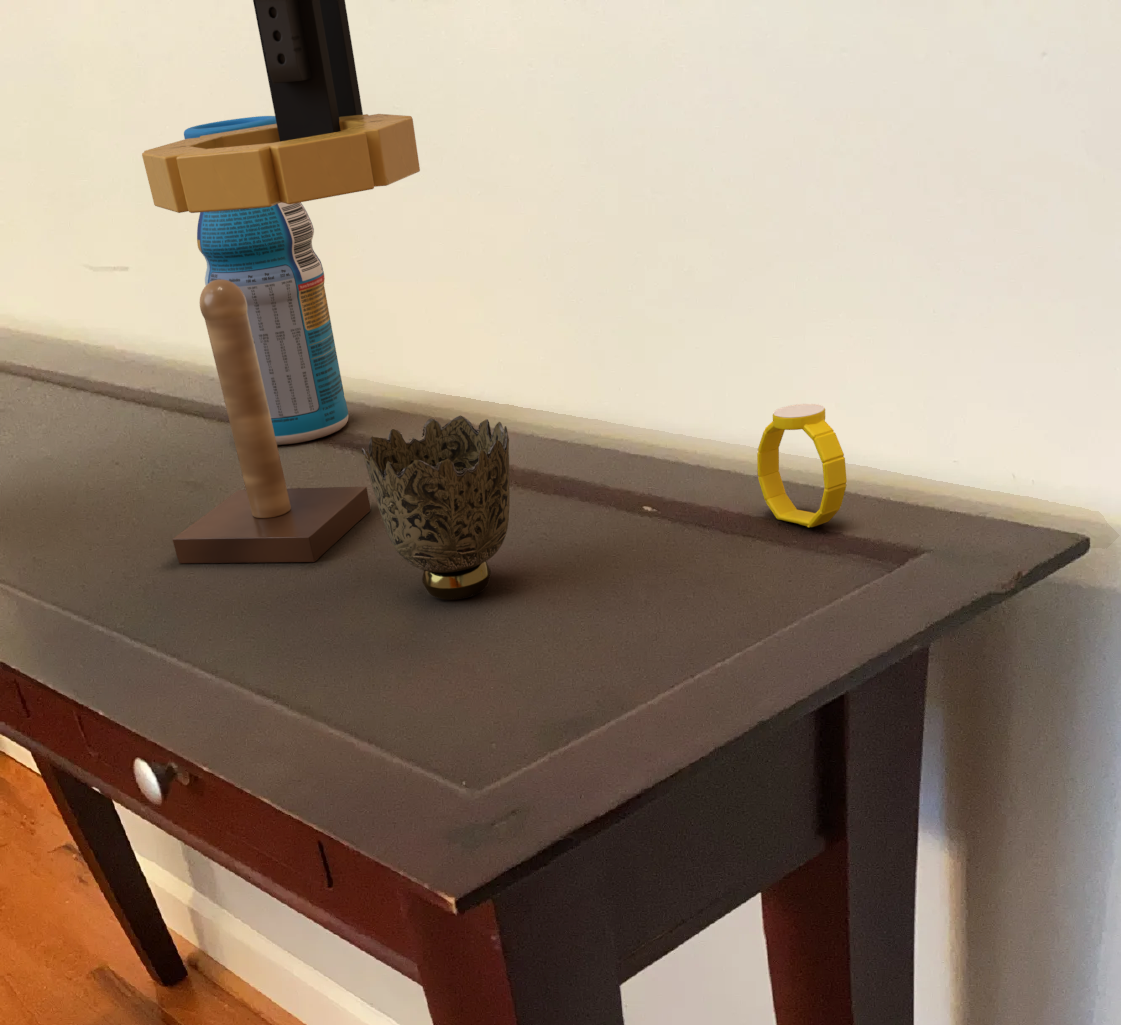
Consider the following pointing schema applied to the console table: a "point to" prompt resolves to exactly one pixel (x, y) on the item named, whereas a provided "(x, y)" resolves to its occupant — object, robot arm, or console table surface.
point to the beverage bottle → (279, 304)
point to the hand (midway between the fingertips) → (328, 162)
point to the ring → (280, 165)
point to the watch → (829, 453)
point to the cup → (444, 501)
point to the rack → (259, 464)
